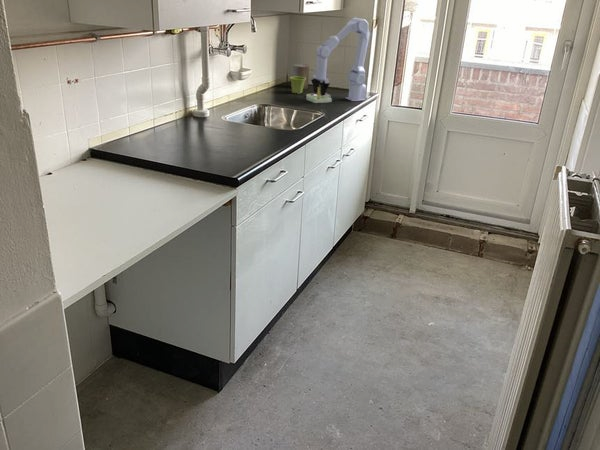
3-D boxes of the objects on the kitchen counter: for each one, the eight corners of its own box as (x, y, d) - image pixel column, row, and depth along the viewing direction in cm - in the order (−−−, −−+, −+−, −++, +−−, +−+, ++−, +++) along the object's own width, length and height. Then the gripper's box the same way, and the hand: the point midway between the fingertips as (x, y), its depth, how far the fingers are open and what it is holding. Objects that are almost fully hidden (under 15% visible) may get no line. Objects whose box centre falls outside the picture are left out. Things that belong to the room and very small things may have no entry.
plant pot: (306, 94, 313) (307, 79, 309) (291, 94, 310) (291, 79, 307) (302, 91, 321) (303, 76, 317) (287, 91, 318) (288, 76, 315)
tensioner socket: (325, 95, 313) (325, 93, 312) (330, 97, 308) (330, 95, 307) (316, 96, 310) (316, 93, 309) (321, 98, 305) (321, 95, 305)
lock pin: (319, 98, 301) (320, 86, 298) (322, 100, 298) (323, 87, 295) (315, 99, 299) (316, 86, 296) (318, 100, 297) (319, 87, 294)
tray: (323, 98, 305) (323, 95, 304) (331, 102, 298) (331, 98, 297) (306, 99, 300) (306, 96, 299) (314, 103, 293) (314, 99, 292)
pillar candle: (310, 87, 331) (312, 63, 325) (303, 90, 324) (304, 64, 317) (297, 85, 336) (298, 61, 329) (289, 87, 328) (290, 62, 322)
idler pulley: (314, 95, 311) (314, 92, 310) (320, 98, 305) (320, 94, 305) (303, 96, 308) (304, 92, 307) (309, 98, 302) (310, 95, 301)
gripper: (308, 66, 295) (306, 91, 301) (321, 71, 284) (319, 97, 290) (319, 66, 298) (317, 91, 304) (332, 71, 287) (330, 96, 293)
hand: (319, 93), depth 297 cm, fingers open, 7 cm apart
